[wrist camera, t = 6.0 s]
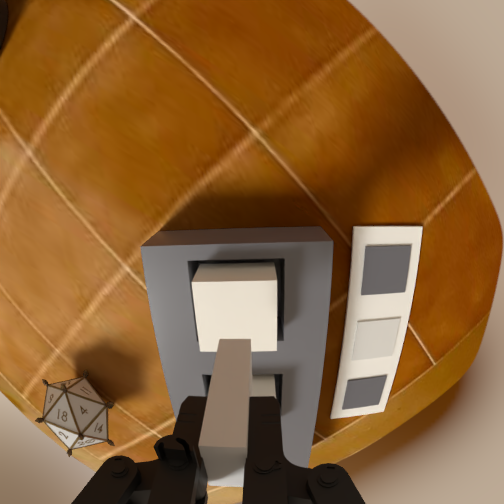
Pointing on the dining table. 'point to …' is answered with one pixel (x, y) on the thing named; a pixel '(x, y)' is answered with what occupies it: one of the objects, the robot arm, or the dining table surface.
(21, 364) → the dining table surface
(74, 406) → the game die
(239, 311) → the button near arm
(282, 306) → the button board
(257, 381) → the middle button
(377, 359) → the pattern card
